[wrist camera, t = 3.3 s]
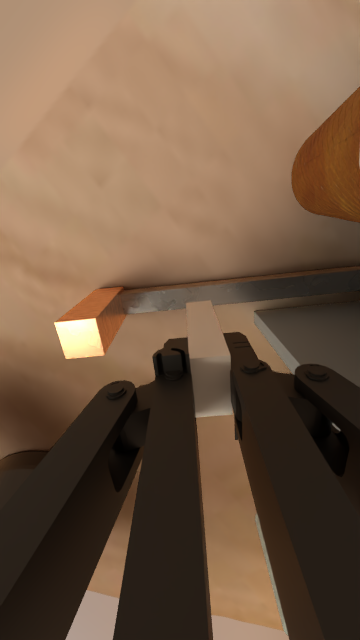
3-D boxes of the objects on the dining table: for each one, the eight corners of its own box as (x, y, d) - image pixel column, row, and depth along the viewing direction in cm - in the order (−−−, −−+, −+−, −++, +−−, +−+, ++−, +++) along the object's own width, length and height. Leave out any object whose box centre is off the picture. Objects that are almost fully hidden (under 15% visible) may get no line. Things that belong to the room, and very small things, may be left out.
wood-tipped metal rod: (101, 315, 23) (65, 359, 16) (50, 98, 17) (-46, 4, 10) (398, 285, 22) (508, 316, 15) (451, 46, 16) (677, -100, 9)
